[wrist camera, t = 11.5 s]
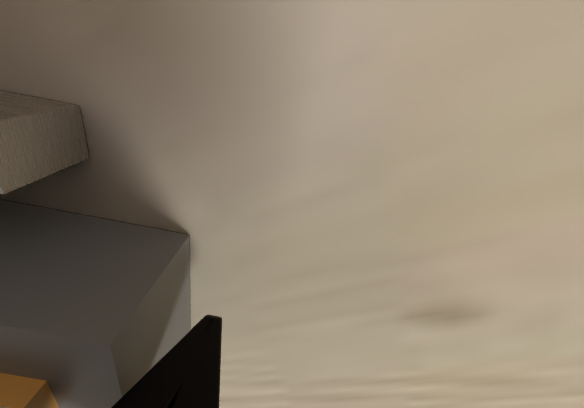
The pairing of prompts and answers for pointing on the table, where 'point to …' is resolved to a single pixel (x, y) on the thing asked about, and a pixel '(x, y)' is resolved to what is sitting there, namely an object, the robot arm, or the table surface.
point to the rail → (37, 139)
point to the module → (85, 305)
